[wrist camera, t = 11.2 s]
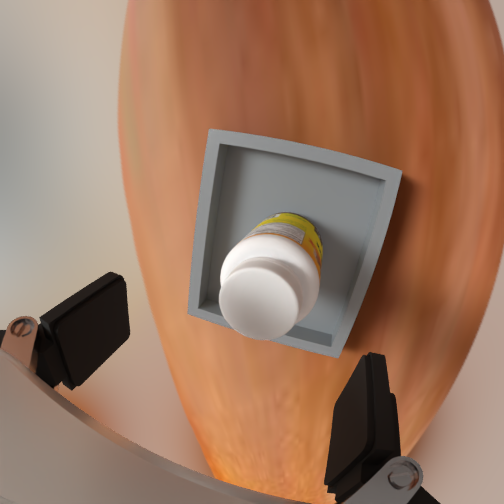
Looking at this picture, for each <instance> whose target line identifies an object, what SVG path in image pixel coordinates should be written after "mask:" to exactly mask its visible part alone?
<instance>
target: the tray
mask: <svg viewBox="0 0 504 504" xmlns="http://www.w3.org/2000/svg"><path fill="white" fill-rule="evenodd" d="M401 175H402V171H401V170H398V169H395V168H392V167H389V166H386V165H383V164H379V163H376V162H373V161H369V160H366V159H362V158H359V157H355V156H351V155H348V154H344V153H340V152H336V151H332V150H328V149H324V148H319V147H315V146H310V145H306V144H301V143H296V142H291V141H286V140H281V139H276V138H270V137H264V136H259V135H252V134H246V133H239V132H232V131H224V130H216V129H209V133H208V139H207V145H206V152H205V158H204V165H203V171H202V178H201V186H200V193H199V201H198V209H197V217H196V225H195V234H194V244H193V254H192V264H191V275H190V287H189V300H188V314H189V315H192V316H195V317H198V318H201V319H203V320H206V321H209V322H212V323H215V324H218V325H221V326H224V327H227V328H231V329H233V328H232V327H231V326H230V325H229V324H228V322H227V321H226V320H225V318H224V316H223V314H222V312H221V309H220V306H219V293H220V289H221V282H220V275H221V269H222V265H223V263H224V260H225V258H226V257H227V255H228V254H229V252H230V251H231V250H232V249H233V248H234V247H235V246H236V245H237V244H238V243H239V242H240V241H241V240H242V239H243V238H244V237H246V236H247V235H248V234H249V233H250V232H251V231H252V230H253V229H254V228H255V227H256V226H258V225H259V224H260V223H261V222H262V221H263V220H265V219H266V218H267V217H269V216H271V215H273V214H276V213H280V212H293V213H297V214H300V215H302V216H304V217H306V218H307V219H309V220H310V221H311V222H312V223H313V224H314V225H315V226H316V228H317V229H318V231H319V233H320V236H321V239H322V244H323V255H322V267H321V277H320V287H319V293H318V297H317V300H316V303H315V305H314V307H313V308H312V310H311V311H310V312H309V314H308V315H307V316H306V317H305V318H303V319H302V320H301V321H299V322H298V323H296V324H295V325H294V326H293V327H292V329H291V330H290V331H289V332H287V333H286V334H285V335H283V336H281V337H278V338H275V339H271V340H270V341H273V342H277V343H281V344H284V345H288V346H291V347H295V348H299V349H303V350H307V351H310V352H314V353H318V354H322V355H327V356H331V357H335V358H339V356H340V353H341V351H342V349H343V347H344V345H345V342H346V340H347V338H348V336H349V333H350V331H351V329H352V326H353V324H354V322H355V319H356V317H357V314H358V312H359V309H360V307H361V304H362V302H363V299H364V296H365V294H366V291H367V289H368V286H369V283H370V280H371V278H372V275H373V272H374V269H375V266H376V263H377V260H378V257H379V254H380V251H381V248H382V245H383V242H384V239H385V235H386V232H387V229H388V225H389V222H390V218H391V215H392V211H393V207H394V204H395V200H396V196H397V192H398V188H399V184H400V180H401Z"/></svg>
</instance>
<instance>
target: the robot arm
mask: <svg viewBox="0 0 504 504" xmlns="http://www.w3.org/2000/svg"><path fill="white" fill-rule="evenodd" d="M40 321H41V324H39V325H38V323H37V321H36V320H35V319H34V318H32V317H29V316H21V317H18V318H16V319H14V320H13V321H12V322H11V323H9V325H8V327H7V330H0V504H310V503H305V502H300V501H295V500H290V499H285V498H280V497H276V496H272V495H268V494H264V493H260V492H257V491H253V490H249V489H246V488H242V487H239V486H236V485H232V484H229V483H226V482H223V481H220V480H217V479H214V478H212V477H209V476H206V475H204V474H201V473H198V472H196V471H193V470H190V469H188V468H186V467H183V466H181V465H179V464H176V463H174V462H172V461H170V460H168V459H166V458H163V457H161V456H159V455H157V454H155V453H153V452H151V451H149V450H147V449H145V448H143V447H141V446H139V445H138V444H136V443H134V442H132V441H130V440H128V439H127V438H125V437H123V436H121V435H120V434H118V433H116V432H115V431H113V430H111V429H110V428H108V427H106V426H105V425H103V424H102V423H100V422H98V421H97V420H95V419H94V418H92V417H91V416H89V415H88V414H86V413H85V412H84V411H82V410H81V409H79V408H78V407H76V406H75V405H74V404H72V403H71V402H70V401H68V400H67V399H66V398H64V397H63V396H62V395H60V394H59V393H58V392H59V383H60V382H61V381H62V383H63V384H64V385H65V386H66V387H68V388H69V389H70V390H73V389H74V388H75V387H76V386H80V385H81V384H83V383H84V382H85V380H87V379H88V378H89V377H90V376H91V375H92V374H93V373H94V372H95V370H97V369H98V367H100V366H101V365H102V364H103V363H104V362H105V361H106V360H107V359H108V358H109V357H110V356H111V355H112V354H113V353H114V352H115V351H116V350H117V349H118V348H119V347H120V346H121V345H122V344H123V343H124V342H125V341H126V340H127V339H128V338H129V335H130V326H129V315H128V303H127V288H126V282H125V281H124V278H123V277H122V276H121V275H118V274H116V273H113V272H108V273H107V274H105V275H103V276H102V277H100V278H99V279H97V280H95V281H94V282H92V283H91V284H89V285H88V286H86V287H84V288H83V289H81V290H80V291H79V292H77V293H75V294H74V295H72V296H71V297H69V298H67V299H66V300H64V301H63V302H62V303H60V304H58V305H57V306H55V307H54V308H53V309H51V310H50V311H48V312H47V313H45V314H44V315H42V316H41V317H40ZM422 481H423V471H422V469H421V467H420V465H419V464H418V463H417V462H416V461H415V460H413V459H412V458H409V457H406V456H401V449H400V435H399V423H398V413H397V404H396V398H395V395H394V394H393V393H390V388H389V380H388V372H387V366H386V359H385V356H384V355H381V354H376V353H372V352H369V353H368V354H367V356H366V355H363V356H362V357H361V359H360V361H359V363H358V364H357V366H356V368H355V370H354V372H353V374H352V375H351V377H350V379H349V381H348V383H347V384H346V386H345V388H344V389H343V391H342V393H341V395H340V396H339V398H338V400H337V401H336V403H335V406H334V411H333V421H332V430H331V439H330V446H329V454H328V461H327V467H326V474H325V480H324V484H325V485H328V490H327V493H334V494H336V496H335V500H336V503H335V504H440V503H439V502H438V501H437V500H436V499H434V497H432V496H431V495H430V494H429V493H428V492H427V491H425V489H424V488H423V487H421V484H422Z"/></svg>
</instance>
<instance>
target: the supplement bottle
mask: <svg viewBox="0 0 504 504" xmlns="http://www.w3.org/2000/svg"><path fill="white" fill-rule="evenodd" d="M322 255H323V244H322V239H321V236H320V233H319V231H318V229H317V228H316V226H315V225H314V224H313V223H312V222H311V221H310V220H309V219H307V218H306V217H304V216H302V215H300V214H297V213H293V212H280V213H276V214H273V215H271V216H269V217H267V218H266V219H265V220H263V221H262V222H261V223H260V224H259V225H258V226H256V227H255V228H254V229H253V230H252V231H251V232H250V233H249V234H248V235H247V236H246V237H244V238H243V239H242V240H241V241H240V242H239V243H238V244H237V245H236V246H235V247H234V248H233V249H232V250H231V251H230V252H229V254H228V255H227V257H226V258H225V260H224V263H223V265H222V269H221V275H220V282H221V289H220V293H219V306H220V309H221V312H222V314H223V316H224V318H225V320H226V321H227V322H228V324H229V325H230V326H231V327H232V328H233V329H234V330H236V331H237V332H239V333H240V334H242V335H244V336H246V337H249V338H252V339H257V340H271V339H275V338H278V337H281V336H283V335H285V334H286V333H287V332H289V331H290V330H291V329H292V327H293V326H294V325H295V324H296V323H298V322H299V321H301V320H302V319H303V318H305V317H306V316H307V315H308V314H309V312H310V311H311V310H312V308H313V307H314V305H315V303H316V300H317V297H318V293H319V287H320V277H321V267H322Z"/></svg>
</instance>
